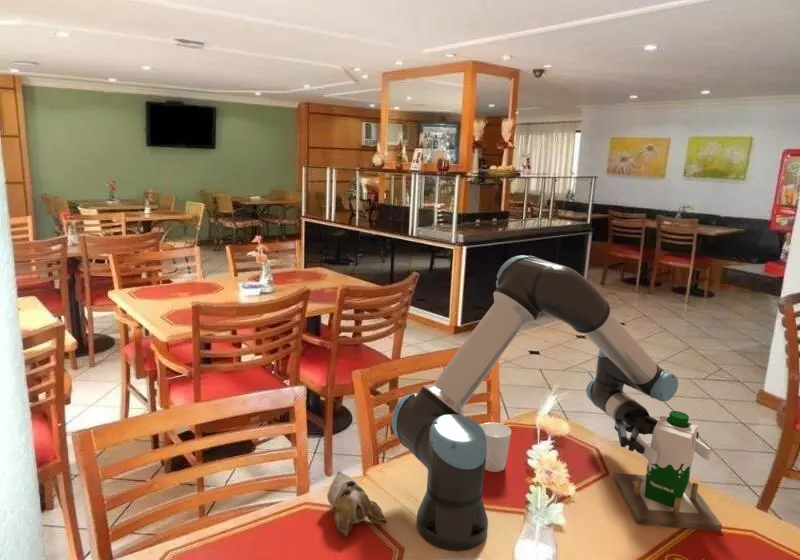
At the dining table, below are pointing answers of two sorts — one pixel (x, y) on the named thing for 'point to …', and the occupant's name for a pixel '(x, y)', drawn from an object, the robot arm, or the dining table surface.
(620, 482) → the pin base plate
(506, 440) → the white cup
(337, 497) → the ceramic sculpture
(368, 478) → the dining table surface
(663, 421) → the soya milk
